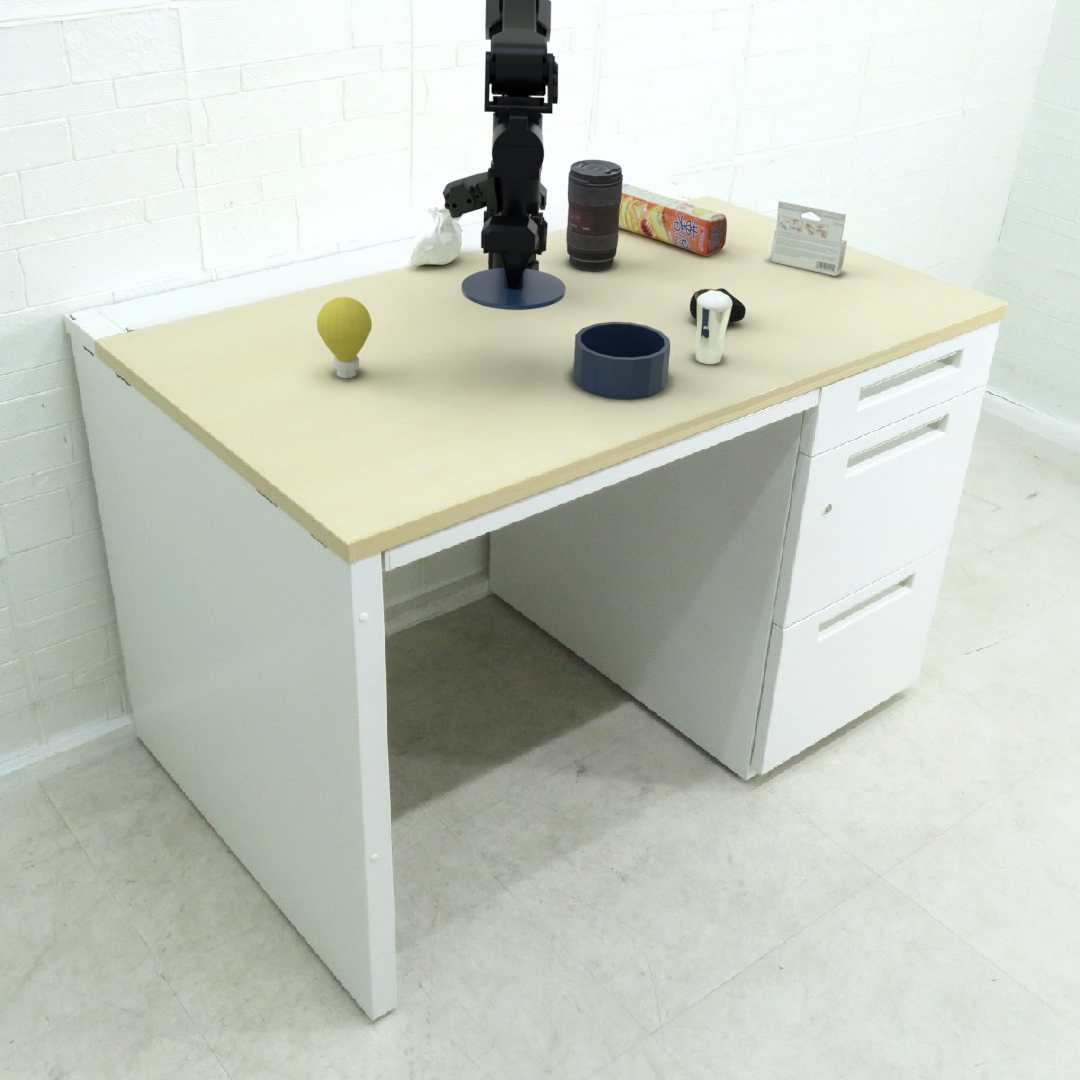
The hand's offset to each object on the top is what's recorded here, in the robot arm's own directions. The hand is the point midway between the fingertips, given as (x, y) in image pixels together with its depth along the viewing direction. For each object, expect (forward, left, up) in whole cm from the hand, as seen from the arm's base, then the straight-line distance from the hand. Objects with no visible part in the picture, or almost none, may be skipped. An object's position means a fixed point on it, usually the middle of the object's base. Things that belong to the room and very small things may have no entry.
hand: (513, 283), depth 158 cm
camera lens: (-6, +41, -12) cm, 44 cm away
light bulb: (-18, -11, -12) cm, 24 cm away
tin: (+13, +4, -12) cm, 18 cm away
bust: (-27, +31, -12) cm, 43 cm away
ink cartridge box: (+24, +56, -12) cm, 63 cm away
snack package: (0, +58, -12) cm, 60 cm away
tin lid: (0, 0, -1) cm, 1 cm away
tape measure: (+18, +29, -12) cm, 37 cm away
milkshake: (+21, +15, -12) cm, 29 cm away
